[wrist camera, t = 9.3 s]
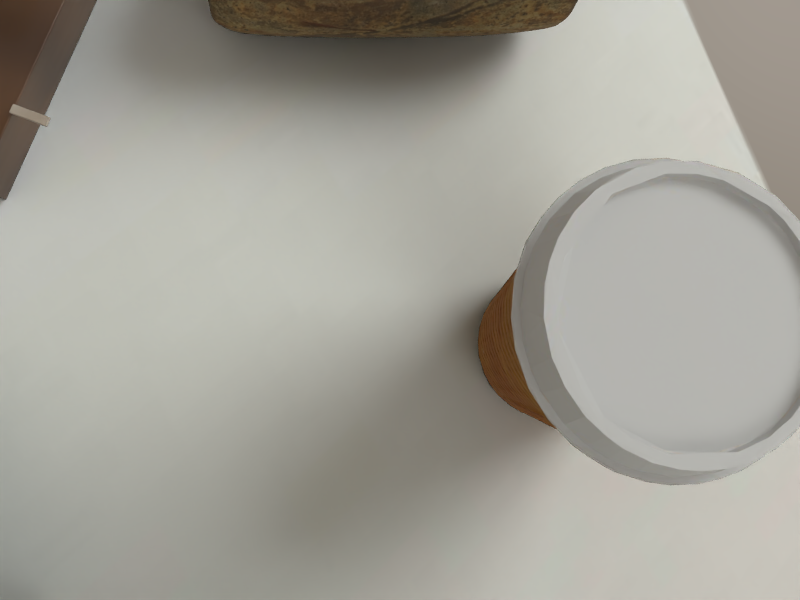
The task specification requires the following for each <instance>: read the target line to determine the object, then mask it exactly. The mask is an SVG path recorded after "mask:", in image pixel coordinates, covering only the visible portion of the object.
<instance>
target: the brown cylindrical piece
mask: <svg viewBox="0 0 800 600" xmlns="http://www.w3.org/2000/svg"><path fill="white" fill-rule="evenodd" d="M577 1H578V0H208V2H209V6H210V11H211V15H212V17H213V19H214V20H215V22H217V23H218V24H219V25H221V26H223V27H225V28H227V29H230V30H232V31H236V32H240V33H246V34H258V35H269V36H293V37H346V38H381V37H441V36H476V35H492V34H503V33H515V32H523V31H532V30H539V29H545V28H549V27H553V26H556V25H558V24H559V23H561V22H562V21H564V20H565V19H566V18H567V17H568V16H569V14H570V13H571V12H572V10H573V8H574V6H575V5H576V3H577Z"/></svg>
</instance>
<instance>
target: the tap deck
mask: <svg viewBox="0 0 800 600" xmlns="http://www.w3.org/2000/svg"><path fill="white" fill-rule="evenodd" d="M96 1H97V0H0V198H2V199H6V198H7V196H8V194H9V192H10V190H11V187H12V185H13V183H14V181H15V179H16V176H17V174H18V172H19V170H20V168H21V165H22V163H23V161H24V159H25V157H26V155H27V152H28V150H29V148H30V146H31V144H32V141H33V139H34V137H35V135H36V133H37V130H38V128H39V126H40V125H43V126H46V127H47V126H48V123H49V121H50V117H48V116H45V113H46V111H47V108H48V106H49V104H50V102H51V100H52V97H53V95H54V93H55V91H56V89H57V86H58V84H59V82H60V80H61V78H62V75H63V73H64V71H65V69H66V67H67V64H68V62H69V60H70V58H71V56H72V53H73V51H74V49H75V47H76V45H77V43H78V40H79V38H80V36H81V34H82V32H83V29H84V27H85V25H86V23H87V21H88V18H89V16H90V14H91V12H92V10H93V7H94V5H95V3H96Z"/></svg>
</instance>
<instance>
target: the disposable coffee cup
mask: <svg viewBox="0 0 800 600" xmlns="http://www.w3.org/2000/svg"><path fill="white" fill-rule="evenodd" d="M478 350H479V358H480V361H481V364H482V368H483V371H484V374H485V376H486V378H487V380H488V382H489V384H490V385H491V386H492V388H493V389H494V390H495V391H496V393H497V394H498V395H499V396H500V397H501V398H502V399H503V400H504V401H506V402H507V403H508V404H509V405H510V406H512V407H513V408H515V409H517V410H519V411H520V412H522V413H525V414H527V415H529V416H531V417H533V418H535V419H537V420H539V421H541V422H543V423H545V424H547V425H549V426H551V427H553V428H555V429H557V430H558V431H559V432H560V433H561V434H562V435H563V436H564V437H565V438H566V439H567V440H568V441H569V442H570V443H571V444H572V445H573V446H574V447H576V448H577V449H579V450H580V451H581V452H583V453H584V454H586V455H587V456H589V457H590V458H592V459H593V460H595V461H596V462H598V463H600V464H601V465H603V466H604V467H606V468H608V469H610V470H612V471H614V472H617V473H620V474H623V475H626V476H629V477H632V478H636V479H639V480H642V481H645V482H651V483H658V484H666V485H687V484H700V483H704V482H709V481H713V480H718V479H721V478H724V477H726V476H729V475H731V474H734V473H737V472H739V471H742V470H743V469H745V468H746V467H748V466H750V465H751V464H753V463H755V462H756V461H758V460H759V459H761V458H762V457H763V456H765V455H766V454H767V453H769V452H771V451H773V450H775V449H776V448H778V447H779V446H780V445H781V444H782V443H784V442H785V441H786V440H787V439H788V438H789V437H791V436H792V435H793V434H794V433H795V432H796V430H797V429H798V428H799V427H800V221H799V220H798V219H797V218H796V217H795V216H794V215H793V214H792V213H791V211H789V209H788V208H787V207H786V206H785V205H784V204H783V203H782V202H781V201H780V200H779V199H778V198H777V196H775V195H774V194H772V193H770V192H769V191H767V190H766V189H764V188H762V187H761V186H759V185H758V184H756V183H754V182H753V181H751V180H750V179H748V178H746V177H745V176H743V175H741V174H740V173H738V172H734V171H730V170H727V169H723V168H720V167H716V166H713V165H709V164H706V163H702V162H699V161H681V160H675V159H670V158H657V159H639V160H630V161H627V162H623V163H620V164H616V165H612V166H609V167H605V168H603V169H601V170H599V171H597V172H595V173H593V174H592V175H590V176H588V177H586V178H584V179H582V180H580V181H578V182H577V183H576V184H575V185H573V186H572V187H571V188H570V189H568V190H567V191H566V192H565V193H563V194H562V195H561V196H560V197H559V198H558V199H557V200H556V201H555V202H554V203H553V204H552V205H551V207H550V208H549V209H548V210H547V211H546V212H545V214H544V215H543V216H542V217H541V219H540V220H539V222H538V223H537V225H536V226H535V228H534V230H533V231H532V233H531V234H530V236H529V238H528V239H527V241H526V243H525V246H524V249H523V252H522V255H521V258H520V261H519V264H518V267H517V269H516V270H515V271H514V273H513V274H512V275H511V276H510V278H509V279H508V280H507V282H506V283H505V284H504V286H503V287H502V288H501V290H500V291H499V292H498V293H497V295H496V296H495V297H494V298H493V299H492V301H491V302H490V304H489V305H488V307H487V309H486V311H485V313H484V315H483V318H482V321H481V324H480V327H479V336H478Z"/></svg>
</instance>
